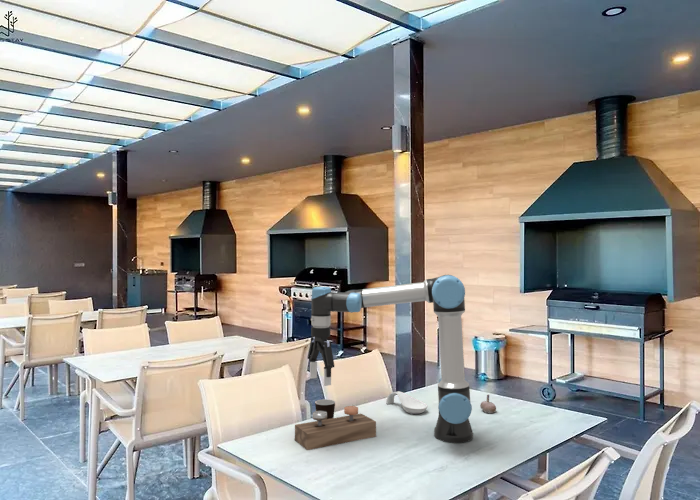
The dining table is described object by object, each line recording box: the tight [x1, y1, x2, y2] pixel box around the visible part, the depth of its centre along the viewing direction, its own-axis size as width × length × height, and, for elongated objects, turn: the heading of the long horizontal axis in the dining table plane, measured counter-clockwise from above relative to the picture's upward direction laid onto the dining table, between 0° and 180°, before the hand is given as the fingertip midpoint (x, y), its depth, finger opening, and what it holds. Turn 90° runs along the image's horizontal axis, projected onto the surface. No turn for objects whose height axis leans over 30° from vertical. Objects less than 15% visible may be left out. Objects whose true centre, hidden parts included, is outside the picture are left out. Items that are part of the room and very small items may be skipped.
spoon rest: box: [386, 390, 428, 415], centre depth 242 cm, size 24×12×7 cm, turn 37°
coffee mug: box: [314, 398, 336, 421], centre depth 220 cm, size 12×9×10 cm
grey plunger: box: [312, 410, 327, 427], centre depth 200 cm, size 6×6×8 cm
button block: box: [294, 413, 377, 451], centre depth 203 cm, size 12×30×6 cm, turn 119°
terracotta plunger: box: [343, 405, 359, 422], centre depth 206 cm, size 6×6×8 cm
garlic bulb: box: [480, 394, 497, 414], centre depth 238 cm, size 8×7×8 cm
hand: (320, 381), depth 200 cm, fingers open, 12 cm apart
